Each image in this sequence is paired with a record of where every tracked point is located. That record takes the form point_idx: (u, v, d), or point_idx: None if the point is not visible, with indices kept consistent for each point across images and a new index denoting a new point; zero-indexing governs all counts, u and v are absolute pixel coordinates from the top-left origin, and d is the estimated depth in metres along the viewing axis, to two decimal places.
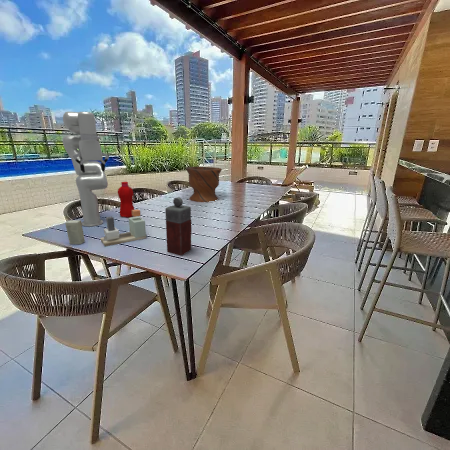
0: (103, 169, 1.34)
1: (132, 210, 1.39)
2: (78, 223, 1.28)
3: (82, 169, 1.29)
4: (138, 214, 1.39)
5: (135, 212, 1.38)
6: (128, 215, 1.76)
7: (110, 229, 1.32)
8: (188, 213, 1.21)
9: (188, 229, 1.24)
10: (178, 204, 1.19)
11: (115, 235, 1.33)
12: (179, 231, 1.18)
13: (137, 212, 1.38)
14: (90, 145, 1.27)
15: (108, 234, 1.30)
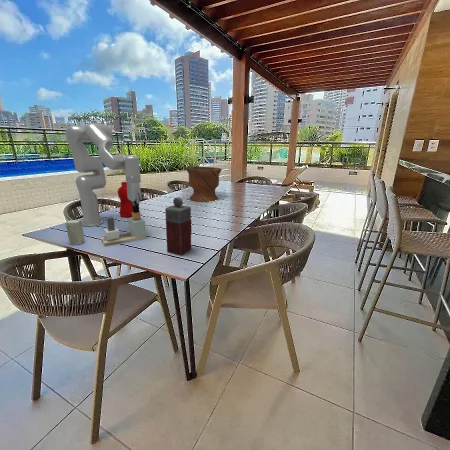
0: (138, 209, 1.40)
1: (132, 212, 1.39)
2: (78, 223, 1.28)
3: (138, 209, 1.39)
4: (138, 216, 1.39)
5: (135, 214, 1.38)
6: (128, 215, 1.76)
7: (110, 229, 1.32)
8: (188, 213, 1.21)
9: (188, 229, 1.24)
10: (178, 204, 1.19)
11: (115, 235, 1.33)
12: (179, 231, 1.18)
13: (137, 214, 1.39)
14: None
15: (108, 234, 1.30)
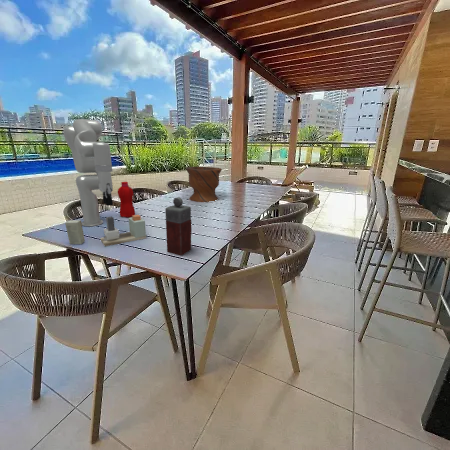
0: None
1: (132, 215, 1.40)
2: (78, 223, 1.28)
3: (111, 202, 1.27)
4: (138, 219, 1.40)
5: (135, 217, 1.39)
6: (128, 215, 1.76)
7: (110, 229, 1.32)
8: (188, 213, 1.21)
9: (188, 229, 1.24)
10: (178, 204, 1.19)
11: (115, 235, 1.33)
12: (179, 231, 1.18)
13: (137, 217, 1.39)
14: None
15: (108, 234, 1.30)
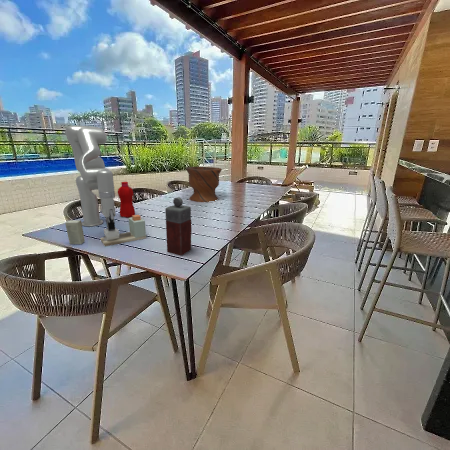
0: None
1: (132, 215, 1.40)
2: (78, 223, 1.28)
3: (113, 226, 1.32)
4: (138, 219, 1.40)
5: (135, 217, 1.39)
6: (128, 215, 1.76)
7: None
8: (188, 213, 1.21)
9: (188, 229, 1.24)
10: (178, 204, 1.19)
11: (115, 235, 1.33)
12: (179, 231, 1.18)
13: (137, 217, 1.39)
14: None
15: (108, 234, 1.30)
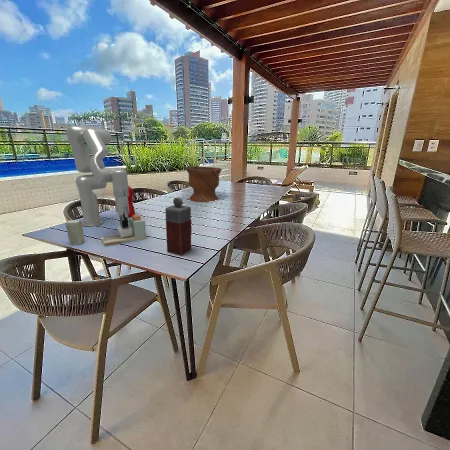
0: None
1: (132, 215, 1.40)
2: (78, 223, 1.28)
3: (127, 224, 1.36)
4: (138, 219, 1.40)
5: (135, 217, 1.39)
6: (128, 215, 1.76)
7: (124, 227, 1.36)
8: (188, 213, 1.21)
9: (188, 229, 1.24)
10: (178, 204, 1.19)
11: (128, 233, 1.37)
12: (179, 231, 1.18)
13: (137, 217, 1.39)
14: None
15: (122, 232, 1.34)
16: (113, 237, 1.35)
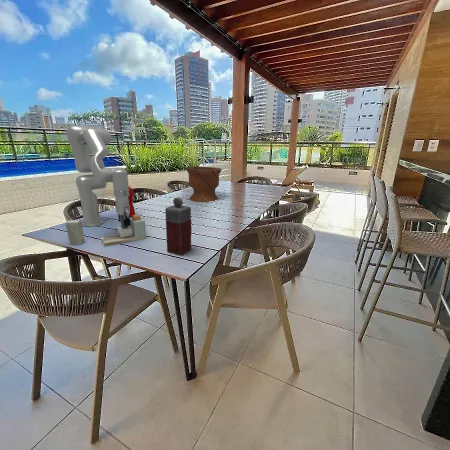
0: None
1: (132, 215, 1.40)
2: (78, 223, 1.28)
3: (128, 223, 1.34)
4: (138, 219, 1.40)
5: (135, 217, 1.39)
6: None
7: (124, 227, 1.36)
8: (188, 213, 1.21)
9: (188, 229, 1.24)
10: (178, 204, 1.19)
11: (128, 233, 1.37)
12: (179, 231, 1.18)
13: (137, 217, 1.39)
14: None
15: (122, 232, 1.34)
16: (113, 237, 1.35)
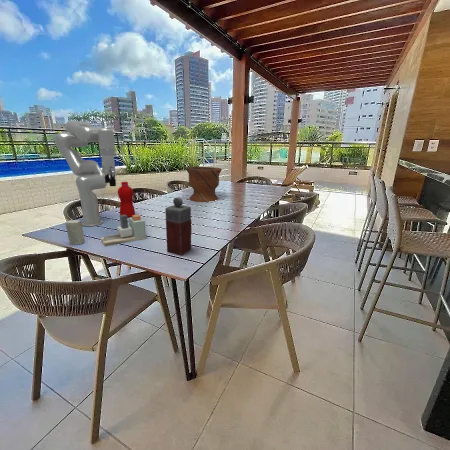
0: None
1: (132, 215, 1.40)
2: (78, 223, 1.28)
3: (114, 183, 1.35)
4: (138, 219, 1.40)
5: (135, 217, 1.39)
6: (128, 215, 1.76)
7: (124, 227, 1.36)
8: (188, 213, 1.21)
9: (188, 229, 1.24)
10: (178, 204, 1.19)
11: (128, 233, 1.37)
12: (179, 231, 1.18)
13: (137, 217, 1.39)
14: None
15: (122, 232, 1.34)
16: (113, 237, 1.35)
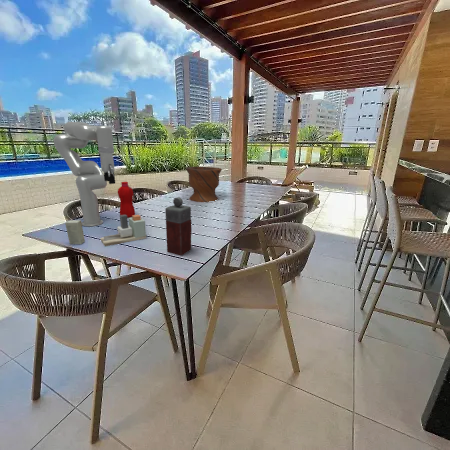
0: None
1: (132, 215, 1.40)
2: (78, 223, 1.28)
3: (113, 180, 1.35)
4: (138, 219, 1.40)
5: (135, 217, 1.39)
6: (128, 215, 1.76)
7: (124, 227, 1.36)
8: (188, 213, 1.21)
9: (188, 229, 1.24)
10: (178, 204, 1.19)
11: (128, 233, 1.37)
12: (179, 231, 1.18)
13: (137, 217, 1.39)
14: None
15: (122, 232, 1.34)
16: (113, 237, 1.35)
